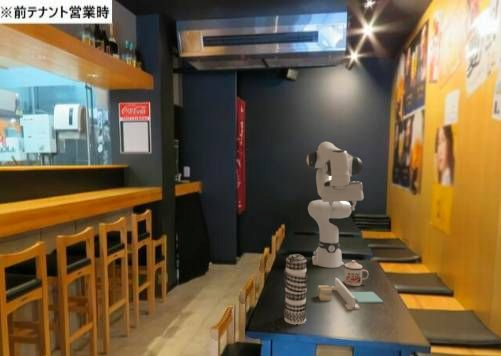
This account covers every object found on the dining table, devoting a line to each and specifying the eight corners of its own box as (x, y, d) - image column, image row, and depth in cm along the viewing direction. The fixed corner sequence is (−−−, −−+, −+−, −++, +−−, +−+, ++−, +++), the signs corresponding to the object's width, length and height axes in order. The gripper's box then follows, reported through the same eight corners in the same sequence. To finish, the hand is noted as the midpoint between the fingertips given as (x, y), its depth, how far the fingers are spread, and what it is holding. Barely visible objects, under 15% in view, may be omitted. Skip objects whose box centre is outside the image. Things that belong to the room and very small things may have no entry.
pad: (349, 293, 157) (349, 291, 157) (372, 293, 158) (372, 291, 158) (358, 302, 146) (358, 301, 146) (383, 302, 147) (383, 301, 147)
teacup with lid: (344, 285, 167) (344, 262, 166) (343, 279, 175) (343, 257, 175) (369, 287, 164) (370, 264, 164) (367, 281, 173) (367, 259, 173)
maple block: (317, 296, 153) (317, 285, 153) (328, 296, 154) (328, 285, 153) (320, 300, 148) (320, 289, 148) (331, 300, 149) (331, 289, 148)
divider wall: (331, 288, 163) (331, 278, 163) (341, 288, 163) (341, 277, 163) (347, 309, 139) (348, 297, 139) (359, 309, 139) (359, 297, 139)
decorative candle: (291, 311, 137) (292, 251, 135) (311, 318, 131) (312, 255, 130) (278, 319, 129) (279, 255, 128) (299, 327, 124) (300, 260, 123)
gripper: (364, 180, 161) (366, 209, 160) (324, 183, 173) (326, 210, 172) (360, 180, 156) (362, 210, 155) (319, 183, 167) (321, 211, 167)
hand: (343, 210), depth 163 cm, fingers open, 8 cm apart
